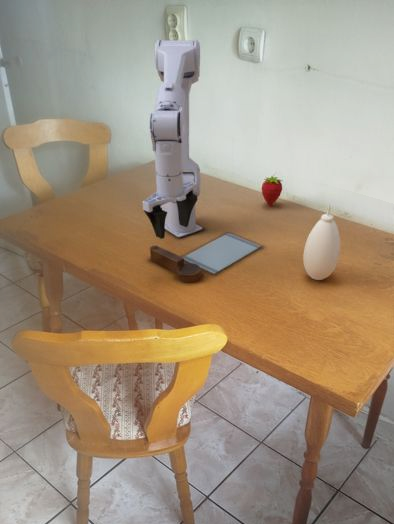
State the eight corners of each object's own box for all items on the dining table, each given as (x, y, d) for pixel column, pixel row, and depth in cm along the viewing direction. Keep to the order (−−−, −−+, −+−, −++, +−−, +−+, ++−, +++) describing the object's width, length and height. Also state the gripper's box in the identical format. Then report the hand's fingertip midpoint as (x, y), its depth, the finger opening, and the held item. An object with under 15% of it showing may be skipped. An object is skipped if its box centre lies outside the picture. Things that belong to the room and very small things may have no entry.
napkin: (181, 258, 124) (181, 257, 124) (228, 233, 134) (228, 232, 134) (214, 274, 119) (214, 273, 118) (261, 247, 129) (261, 245, 128)
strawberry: (281, 201, 150) (284, 167, 144) (279, 212, 144) (283, 177, 138) (261, 200, 151) (263, 166, 145) (259, 210, 145) (261, 176, 139)
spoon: (144, 262, 123) (142, 250, 121) (160, 254, 126) (159, 242, 124) (189, 285, 115) (189, 272, 113) (205, 275, 118) (205, 263, 116)
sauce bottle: (327, 290, 113) (341, 215, 101) (295, 281, 116) (304, 206, 104) (339, 274, 118) (353, 201, 106) (308, 266, 121) (318, 193, 109)
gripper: (157, 186, 100) (161, 248, 108) (206, 167, 108) (206, 225, 116) (133, 178, 103) (139, 238, 112) (182, 159, 111) (184, 216, 120)
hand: (172, 231), depth 114 cm, fingers open, 7 cm apart
